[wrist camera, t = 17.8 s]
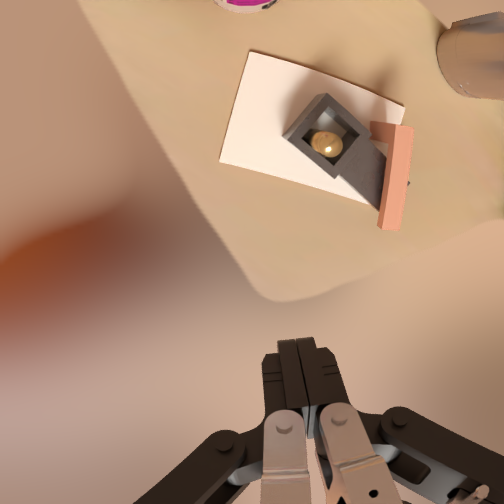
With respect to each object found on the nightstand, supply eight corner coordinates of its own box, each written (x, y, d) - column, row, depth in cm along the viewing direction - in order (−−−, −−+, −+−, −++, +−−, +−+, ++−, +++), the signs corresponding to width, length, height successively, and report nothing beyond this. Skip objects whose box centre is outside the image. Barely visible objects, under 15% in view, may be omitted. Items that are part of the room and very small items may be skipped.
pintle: (304, 125, 30) (323, 129, 23) (322, 131, 30) (345, 137, 23) (298, 143, 31) (315, 152, 24) (316, 148, 31) (338, 160, 24)
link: (281, 136, 30) (287, 139, 27) (316, 94, 28) (326, 92, 25) (365, 208, 34) (378, 220, 30) (397, 170, 32) (413, 178, 28)
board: (249, 52, 27) (249, 51, 26) (403, 108, 29) (405, 108, 29) (219, 161, 32) (219, 161, 31) (371, 204, 34) (372, 205, 34)
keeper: (368, 120, 30) (395, 124, 24) (385, 123, 30) (414, 127, 24) (359, 208, 34) (381, 229, 28) (374, 209, 34) (399, 230, 28)
